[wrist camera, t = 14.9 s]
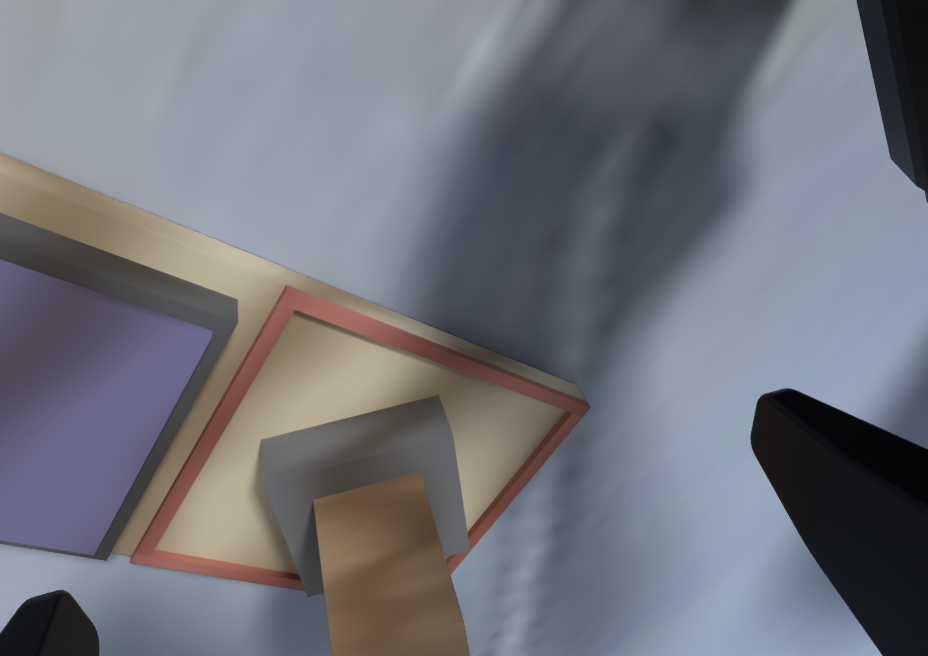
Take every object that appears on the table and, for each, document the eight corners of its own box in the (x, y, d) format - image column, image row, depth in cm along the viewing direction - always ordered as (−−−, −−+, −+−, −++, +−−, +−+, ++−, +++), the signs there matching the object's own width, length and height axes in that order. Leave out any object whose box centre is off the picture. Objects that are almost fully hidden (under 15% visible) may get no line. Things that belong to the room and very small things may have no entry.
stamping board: (577, 385, 27) (604, 429, 25) (415, 584, 31) (427, 635, 29) (-241, 56, 15) (-311, 91, 13) (-319, 451, 19) (-381, 521, 17)
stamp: (438, 394, 24) (506, 580, 18) (456, 508, 28) (517, 694, 22) (261, 439, 23) (271, 649, 17) (303, 551, 27) (323, 757, 21)
